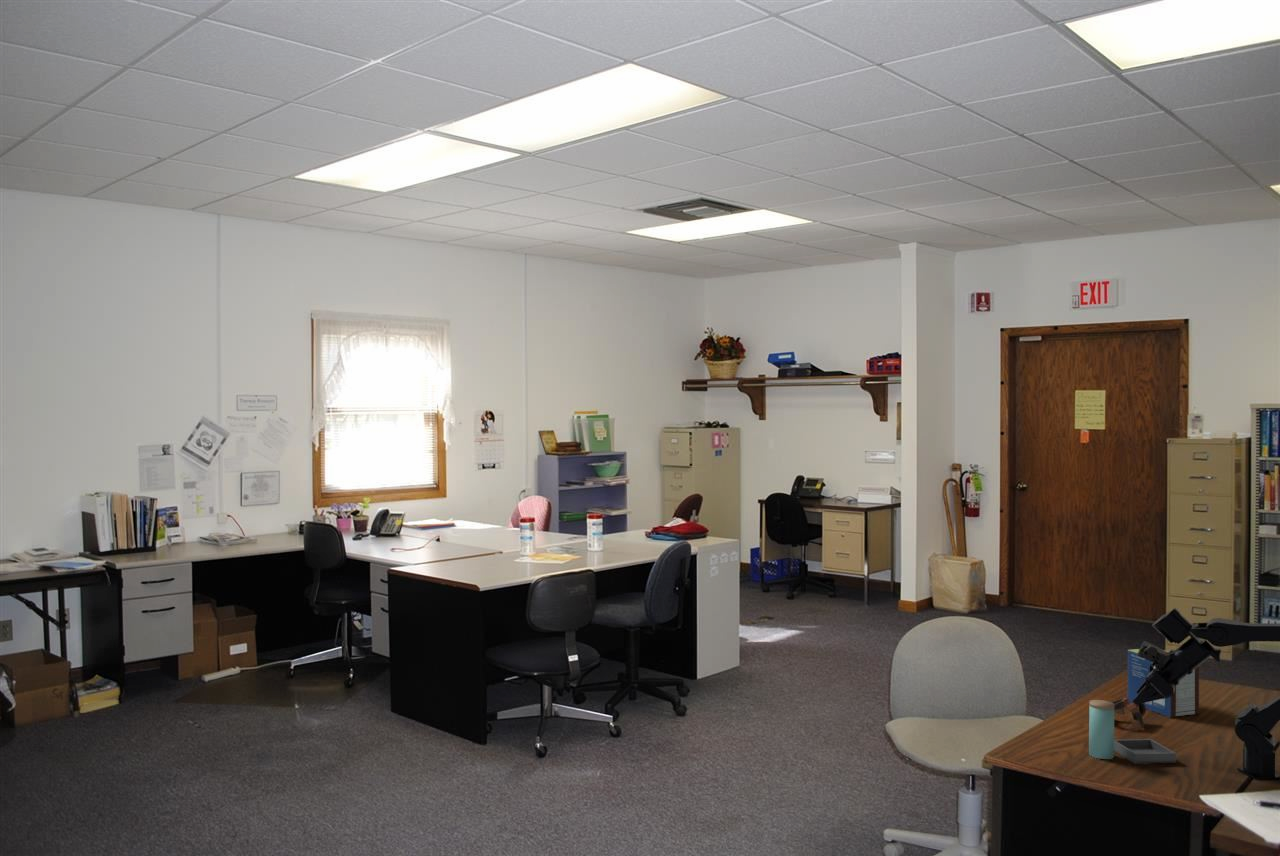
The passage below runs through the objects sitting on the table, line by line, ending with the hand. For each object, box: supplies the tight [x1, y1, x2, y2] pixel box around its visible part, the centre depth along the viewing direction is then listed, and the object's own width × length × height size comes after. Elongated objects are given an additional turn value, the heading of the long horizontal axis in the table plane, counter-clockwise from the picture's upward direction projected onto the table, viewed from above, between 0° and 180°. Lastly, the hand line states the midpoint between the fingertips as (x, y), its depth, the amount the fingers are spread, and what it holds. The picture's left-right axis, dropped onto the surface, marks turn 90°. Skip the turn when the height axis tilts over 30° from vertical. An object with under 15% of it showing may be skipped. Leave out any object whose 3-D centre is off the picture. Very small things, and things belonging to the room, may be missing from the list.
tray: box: [1114, 738, 1177, 765], centre depth 235 cm, size 10×10×2 cm
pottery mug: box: [1111, 697, 1147, 731], centre depth 260 cm, size 12×10×8 cm
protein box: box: [1127, 648, 1200, 718], centre depth 274 cm, size 10×15×16 cm
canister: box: [1088, 699, 1115, 759], centre depth 235 cm, size 6×6×13 cm
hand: (1136, 698), depth 237 cm, fingers open, 9 cm apart
